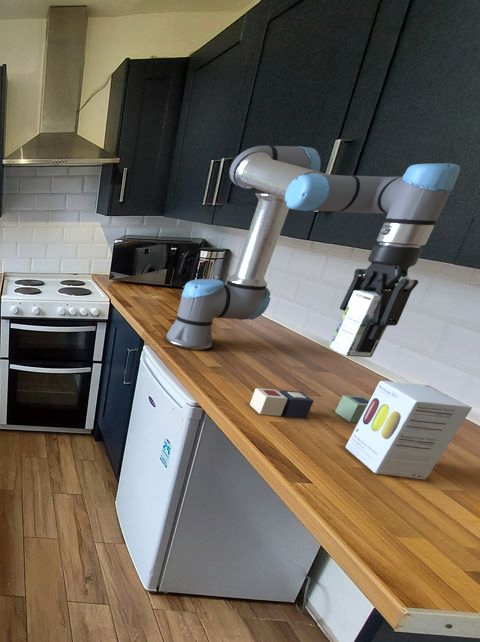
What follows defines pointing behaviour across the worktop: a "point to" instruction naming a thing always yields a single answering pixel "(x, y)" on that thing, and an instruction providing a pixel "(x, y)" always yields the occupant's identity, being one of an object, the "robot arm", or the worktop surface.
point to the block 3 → (352, 407)
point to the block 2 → (296, 404)
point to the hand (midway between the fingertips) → (352, 346)
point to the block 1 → (268, 401)
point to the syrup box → (355, 323)
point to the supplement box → (406, 429)
